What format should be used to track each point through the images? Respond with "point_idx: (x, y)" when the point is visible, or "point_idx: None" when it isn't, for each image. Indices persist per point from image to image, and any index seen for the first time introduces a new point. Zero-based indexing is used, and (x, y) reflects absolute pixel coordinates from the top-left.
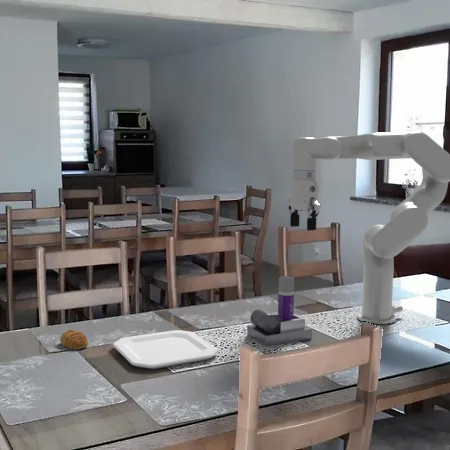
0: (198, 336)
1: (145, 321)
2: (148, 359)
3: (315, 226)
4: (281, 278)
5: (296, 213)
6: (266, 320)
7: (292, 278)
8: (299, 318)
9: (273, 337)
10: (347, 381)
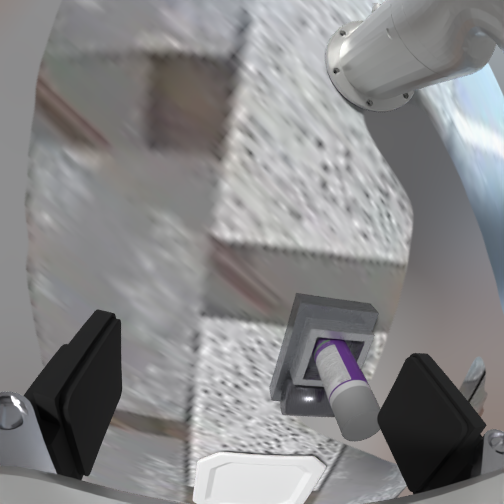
0: (248, 457)
1: (106, 444)
2: (275, 501)
3: (436, 374)
4: (358, 439)
5: (59, 449)
6: None
7: None
8: (364, 343)
9: None
10: (480, 368)
